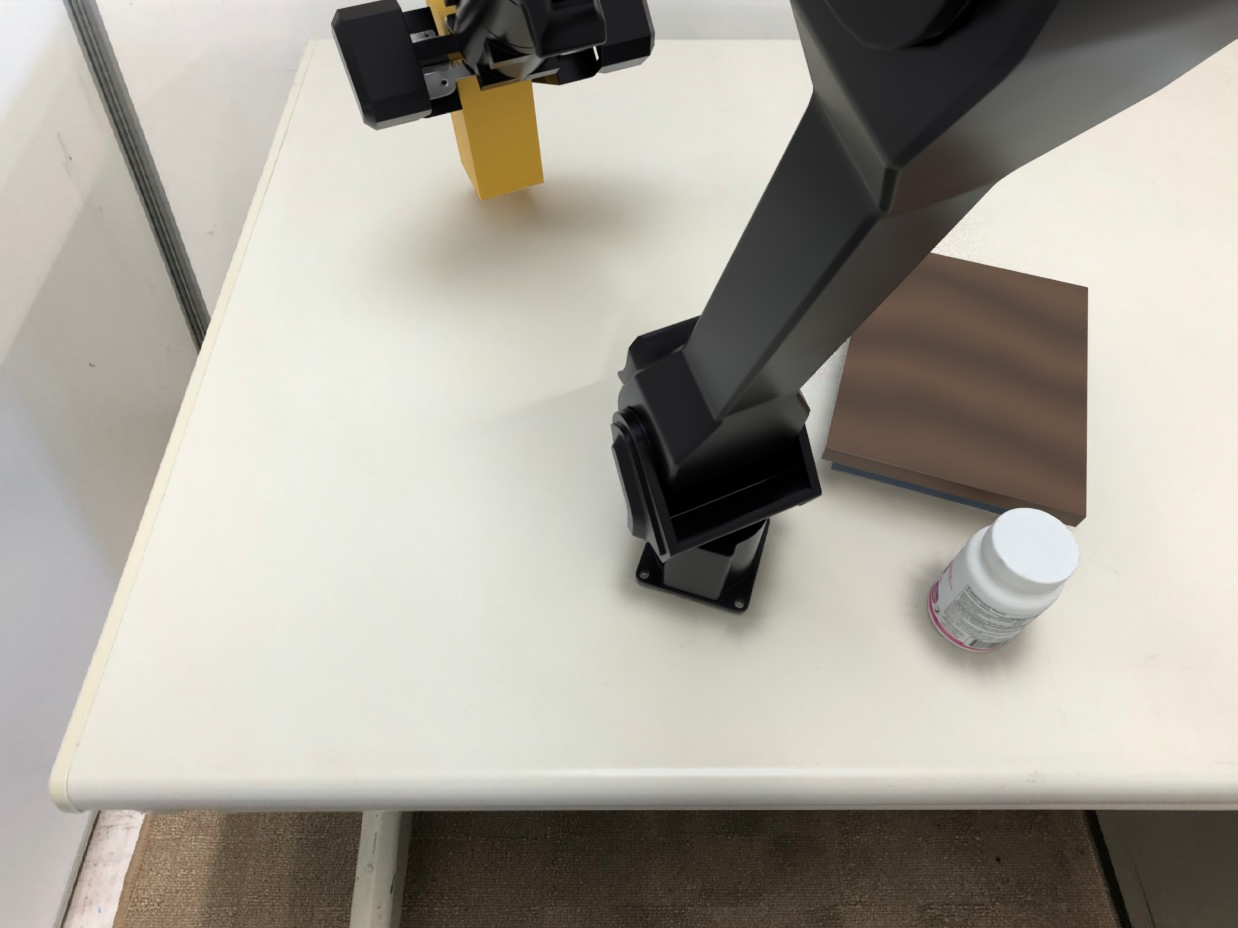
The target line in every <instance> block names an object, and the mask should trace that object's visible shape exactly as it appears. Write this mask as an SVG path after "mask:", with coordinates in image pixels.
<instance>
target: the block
mask: <svg viewBox="0 0 1238 928" xmlns="http://www.w3.org/2000/svg"><path fill="white" fill-rule="evenodd" d="M425 5H426V7H429V6H430V8H431V11H432V14H433V17H434V20H435V23H436V26H437V30H438V33H439V35H442V36H444V35H449V34H450V33H449V31H448V29H447V26H446V23H445V18H446V16H447V15H448V14H453V13H456V11H455V8H454V6H449V7H446V6H445V4H444V1H443V0H425ZM453 33H454V29H453ZM461 60H462V59H459V60H455V61H457V62H458V63H459V64H460V65H461ZM463 60H464V59H463ZM455 61H451V64H452V65H453V66H454V67H455ZM464 61H465V60H464ZM465 62H466V61H465ZM466 64H467V63H466ZM456 88H457V91H458V95H459V98H460V101H461V104H462V107H463V110H459V111H455V112H451V113H450V118H451V122H452V126H453V131H454V136H455V140H456V145H457V150H458V153H459V154H458V155H459V158H460V162H461V165H462V167H463V169H464V170H465V172H466V174H467V177H468V178H469V180H470V182H471V184H472V185H473V188H474V190H475V192H476V194H477V196H478V198H479V199H480V201H481V202H483V201H486V200H489V199H492V198H496V197H499V196H503V195H507V194H510V193H513V192H516V191H520V190H523V189H526V188H527V189H528V188H530V187H533V186H537V185H540V184H544V183H545V180H544V179H545V178H544V172H543V164H542V155H541V147H540V146H541V145H540V140H539V139H540V138H539V130H538V129H539V128H538V122H537V113H536V105H535V97H534V96H535V95H534V88H533V83H532V79H530V80H526V81H522V82H517V83H513V84H509V85H505V86H501V87H497V88H493V89H489V90H485V91H481V90H480V87H479V84H478V81H477V78H476V77H472V78H467V79H463V80H459V81H457V82H456Z"/></svg>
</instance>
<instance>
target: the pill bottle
mask: <svg viewBox="0 0 1238 928" xmlns="http://www.w3.org/2000/svg"><path fill="white" fill-rule="evenodd" d="M1079 563H1080V547H1079V544H1078V542H1077V540H1076V537H1075V536H1074V535H1073V533H1072V531H1071V530H1070V529H1069V528H1068V527H1067V525H1065V524H1063V523H1062V522H1061V521H1059V520H1058V519H1057V518H1055V517H1053V516H1051V515H1050V514H1048V513H1046V512H1043V511H1041V510H1037V509H1032V508H1017V509H1012V510H1009V511H1007V512H1005V513H1003V514H1002V515H1001V514H999V516H998V517H997V518H996V519H995V521H993V523H991V524H989V525H986V526H984V527H982V528H981V529H978V530H977V531H976V532H975V533H974V534H973V535H972V536H971V537H970V538H969V539H968V540H967V541H966V543H965V544H964V545H963V547H961V549H960V550H959V551H958V553H957V554H956V555H955V557H954V558H953V559H952V560H951V562H950V563H949V564H948V565H947V567H946V568H945V569H944V570H943V571H942V573H941V574H940V576H938V577H937V579H936V580H935V581H934V582H933V584H932V586H931V588H930V590H929V593H928V596H927V611H928V614H929V617H930V620H931V622H932V623H933V624H932V625H934V627H935V628H936V630H937V631H938V633H940V634H941V636H943V637H944V638H945V639H946V640H947V641H949V642H950V643H951V644H952V645H954V646H956V647H958V648H960V649H962V650H965V651H968V652H972V653H988V652H993V651H995V650H999V649H1000V648H1002V647H1003V646H1005V645H1006V644H1008V643H1009V642H1010V641H1011V640H1012V639H1013V638H1014V637H1016V636H1018V634H1019V633H1020V632H1021V631H1023V630H1024V629H1025V628H1026V627H1027V626H1029V625H1030V624H1031V623H1032V622H1034V620H1036V619H1037V618H1038V617H1039V616H1041V615H1042V614H1043V613H1044V612H1045V611H1047V610H1048V609H1049V608H1050V607H1051V606H1052V605H1053V604H1054V603H1055V602H1056V601H1057V600H1058V599H1059V598H1060V596H1061V595H1062V592H1063V590H1064V586H1065V582H1066V581H1067V580H1069V578H1070V577H1072V575H1074V574H1075V572H1076V570H1077V568H1078V566H1079Z"/></svg>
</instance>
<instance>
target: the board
mask: <svg viewBox="0 0 1238 928" xmlns="http://www.w3.org/2000/svg"><path fill="white" fill-rule="evenodd" d="M1088 356H1089V287H1088V286H1085V285H1080V284H1076V283H1071V282H1066V281H1062V280H1058V279H1052V278H1049V277H1043V276H1039V275H1036V274H1030V273H1026V272H1021V271H1017V270H1012V269H1007V268H1004V267H1000V266H999V267H998V266H994V265H990V264H985V263H981V262H976V261H972V260H966V259H963V258H958V257H955V256H954V257H953V256H948V255H946V254H940V253H934V252H932V251H931V252H930V253H929V254H928V255H927V256H926V257H925V258H924V259H923V260H922V261H921V263H920V264H919V265H918V266H917V267H916V268H915V269H914V270H913V271H912V272H911V273H910V274H909V275H908V276H907V277H906V278H905V279H904V280H903V281H902V282H901V284H900V285H899V286H898V287H897V288H896V289H895V290H894V291H893V292H892V293H891V294H890V295H889V296H888V297H887V298H886V299H885V300H884V301H883V302H882V303H881V304H880V306H879V307H878V308H877V309H876V310H875V311H874V312H873V313H872V314H871V315H870V316H869V317H868V318H867V319H866V320H865V321H864V322H863V323H862V324H861V325H860V326H859V328H858V329H857V330H856V331H855V332H854V333H853V334H852V335H851V336H850V337H849V338H848V339H847V342H846V346H845V352H844V356H843V360H842V365H841V369H840V373H839V378H838V381H837V386H836V391H835V396H834V400H833V404H832V409H831V413H830V417H829V422H828V425H827V431H826V435H825V439H824V443H823V448H822V451H821V457H820V459H821V460H823V461H826V462H827V461H828V462H830V469H831V470H835V471H837V472H842V473H845V474H850V475H853V476H857V477H861V478H864V479H867V480H871V481H875V482H879V483H882V484H886V485H891V486H894V487H898V488H901V489H905V490H909V491H912V492H916V493H919V494H922V495H927V496H931V497H934V498H937V499H938V498H939V499H941V500H946V501H949V502H953V503H957V504H960V505H964V506H968V507H970V508H971V507H972V508H975V509H979V510H983V511H986V512H991V513H994V514H998V515H1002V514H1003V513H1005V512H1007V511H1009V510H1012V509H1017V508H1032V509H1037V510H1041V511H1043V512H1046V513H1048V514H1050V515H1051V516H1053V517H1055V518H1057V519H1058V520H1059V521H1061V522H1062V523H1063V524H1064V525H1065V526H1068V527H1072V528H1077V527H1078V526H1079V525H1080V524H1081V523H1082V522H1083V521H1084V520H1085V519H1086V518H1087V500H1088V498H1087V497H1088V494H1087V492H1088V491H1087V487H1088V486H1087V485H1088V483H1087V482H1088V480H1087V479H1088V379H1089V377H1088V375H1089V373H1088V372H1089V371H1088V369H1089V366H1088V361H1089V357H1088Z"/></svg>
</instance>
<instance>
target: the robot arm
mask: <svg viewBox="0 0 1238 928" xmlns="http://www.w3.org/2000/svg"><path fill="white" fill-rule="evenodd" d="M443 1H444V4H445V6H446V7H449V6H454V8H455V11H456V13H453V14H448V15H447V16H446V18H445V23H446V26H447V29H448V31H449V33H450V34H449V35H444V36H442V35H439V33H438V30H437V26H436V23H435V20H434V17H433V14H432V11H431V8H430V6H429V7H427V6H425V7H420V8H414V9H410V10H406V11H403V10H402V7H401V5H400V3H399V1H398V0H374V1H370V2H365V3H360V4H355V5H351V6H350V5H349V6H346V7H341V8H337V9H336V10H335V12H334V15H333V17H332V20H331V22H330V27H331V35H332V38H333V40H334V43H335V47H336V49H337V52H338V54H339V57H340V60H341V63H342V66H343V68H344V71H345V74H346V77H347V80H348V82H349V85H350V88H351V91H352V94H353V97H354V101H355V102H356V106H357V108H358V111H359V113H360V117H361V119H362V122H363V124H364V125H366V126H368V127H369V128H371V129H373V130H374V131H376V132H377V131H380V130H385V129H388V128H393V127H397V126H400V125H404V124H405V125H406V124H408V123H412V122H417V121H419V120H422V119H431V118H435V117H439V116H443V115H447V114H451V112H455V111H459V110H463V107H462V104H461V101H460V98H459V95H458V91H457V88H456V82H457V81H459V80H463V79H467V78H472V77H476V78H477V81H478V84H479V87H480V90H481V91H485V90H489V89H493V88H497V87H501V86H505V85H509V84H513V83H517V82H522V81H526V80H530V79H532V84H542V85H550V86H558V87H559V86H564V85H568V84H571V83H575V82H579V81H584V80H588V79H591V78H594V77H596V75H597V74H604V75H605V74H609V73H614V72H618V71H621V70H626V69H629V68H634V67H638V66H642V64H643V63H645V61H646V60H647V59H648V58H650V56H651V54H652V52H653V50H654V47H655V44H656V43H655V42H656V31H655V27H654V23H653V19H652V15H651V11H650V7H649V4H648V0H443ZM789 4H790V8H791V11H792V15H793V19H794V22H795V25H796V29H797V33H798V38H799V41H800V44H801V48H802V51H803V56H804V60H805V63H806V67H807V70H808V73H809V77H810V81H811V84H812V85H811V86H812V93H811V95H810V97H809V98H810V99H809V102H808V104H807V106H806V108H805V110H804V112H803V114H802V116H801V118H800V120H799V122H798V124H797V125H796V128H795V129H794V131H793V134H792V135H791V137H790V140H789V141H788V144H787V146H786V147H785V150H784V151H783V153H782V155H781V157H780V159H779V161H778V163H777V165H776V167H775V169H774V171H773V173H772V174H771V177H770V179H769V181H768V182H767V184H766V186H765V188H764V190H763V193H761V194H762V195H761V196H760V198H759V200H758V202H757V203H756V206H755V208H754V210H753V211H752V214H751V216H750V218H749V220H748V222H747V224H746V226H745V227H744V230H743V231H742V234H741V236H740V238H739V239H738V241H737V244H736V245H735V247H734V249H733V251H732V253H731V255H730V257H729V259H728V261H727V263H726V265H725V267H724V269H723V271H722V273H721V275H720V277H719V279H718V281H717V283H716V285H715V287H714V288H713V291H712V292H711V295H710V297H708V301H707V302H706V304H705V306H704V308H703V310H702V312H701V313H700V314H699V315H696V316H693V317H690V318H688V319H684V320H682V321H679V322H678V321H677V322H675V323H671V324H669V325H666V326H664V327H661V328H657V329H655V330H652V331H649V332H646V333H642V334H639V335H637V336H636V337H635V339H634V340H633V341H632V342H631V344H630V345H629V347H628V348H627V353H626V361H625V364H624V365H625V366H624V367H623V369H621V370H618V371H617V372H616V373H617V377H618V379H619V380H620V382H621V383H622V384H623V385H622V386H621V388H620V390H619V392H618V396H617V411H614V412H613V414H612V418H611V419H612V420H611V421H612V422H611V423H610V430H611V435H612V436H611V438H612V444H611V447H610V448H611V449H610V450H611V453H612V457H613V460H614V464H615V468H616V472H617V475H618V479H619V482H620V486H621V490H622V494H623V498H624V502H625V504H626V505H625V506H626V510H627V522H626V523H627V528H628V530H629V532H630V535H631V537H635V538H638V539H641V540H643V541H645V543H644V547H643V549H642V553H641V556H640V559H639V561H638V563H637V567H636V570H635V575H634V576H635V577H634V578H635V581H636V582H637V584H639V585H640V586H643V587H647V588H650V589H653V590H656V591H659V592H662V593H666V594H670V595H673V596H675V597H679V598H683V599H686V600H689V601H692V602H696V603H699V604H702V605H705V606H709V607H712V608H714V609H718V610H722V611H725V612H728V613H731V614H735V615H744V614H745V613H747V610H748V609H749V606H750V602H751V598H752V594H753V590H754V586H755V583H756V578H757V574H758V571H759V567H760V563H761V559H762V555H763V552H764V547H765V543H766V540H767V535H768V532H769V527H770V524H771V519H770V518H771V517H773V516H776V515H778V514H781V513H783V512H786V511H788V510H791V509H793V508H796V507H801V506H804V505H807V504H809V503H811V502H812V501H814V500H816V499H818V498H820V497H822V496H823V490H822V486H821V481H820V477H819V473H818V468H817V465H816V462H815V457H814V452H813V449H812V445H811V440H810V437H809V433H808V429H807V424H806V422H807V420H808V418H809V417H810V414H811V408H810V406H809V403H808V402H807V400H806V398H805V396H804V394H803V392H802V390H801V389H802V388H803V386H804V385H806V383H807V382H808V381H809V380H811V378H812V377H813V376H814V375H815V374H816V373H817V372H818V371H819V370H820V369H821V368H822V366H824V364H826V362H827V361H829V359H830V358H831V357H832V356H833V355H834V354H835V353H837V351H838V350H839V349H840V348H841V346H843V345H844V343H846V341H848V338H849V337H850V336H851V335H852V334H853V333H854V332H855V331H856V330H857V329H858V328H859V326H860V325H861V324H862V323H863V322H864V321H865V320H866V319H867V318H868V317H869V316H870V315H871V314H872V313H873V312H874V311H875V310H876V309H877V308H878V307H879V306H880V304H881V303H882V302H883V301H884V300H885V299H886V298H887V297H888V296H889V295H890V294H891V293H892V292H893V291H894V290H895V289H896V288H897V287H898V286H899V285H900V284H901V282H902V281H903V280H904V279H905V278H906V277H907V276H908V275H909V274H910V273H911V272H912V271H913V270H914V269H915V268H916V267H917V266H918V265H919V264H920V263H921V261H922V260H923V259H924V258H925V257H926V256H927V255H928V254H929V253H930V252H931V253H932V251H933V250H934V249H935V248H936V247H937V246H938V245H939V244H940V243H941V242H942V241H943V240H944V239H945V238H946V237H947V236H948V234H950V232H951V231H953V230H954V228H955V227H956V226H957V225H958V224H959V223H960V222H961V221H962V220H963V219H964V217H965V216H967V215H968V213H970V211H972V209H973V208H975V206H976V205H977V204H978V203H979V202H980V201H981V200H982V199H983V198H984V197H985V195H987V194H988V193H989V191H990V190H992V188H993V187H994V186H995V185H997V184H998V183H999V182H1000V181H1002V180H1003V179H1004V178H1006V177H1007V176H1009V175H1010V174H1012V173H1014V172H1016V171H1017V170H1018V169H1020V168H1022V167H1024V166H1025V165H1028V164H1029V163H1031V162H1033V161H1034V160H1036V159H1038V158H1040V157H1042V156H1044V155H1045V154H1048V153H1049V152H1051V151H1053V150H1055V149H1056V148H1058V147H1060V146H1062V145H1063V144H1065V143H1068V142H1069V141H1071V140H1073V139H1075V138H1077V137H1078V136H1080V135H1082V134H1084V133H1086V132H1087V131H1089V130H1091V129H1093V128H1094V127H1097V126H1098V125H1100V124H1102V123H1104V122H1105V121H1107V120H1109V119H1111V118H1113V117H1115V116H1116V115H1118V114H1120V113H1122V112H1124V111H1126V110H1127V109H1129V108H1131V107H1133V106H1134V105H1136V104H1138V103H1140V102H1141V101H1144V100H1145V99H1148V98H1149V97H1151V96H1153V95H1155V94H1156V93H1158V92H1160V91H1161V90H1162V89H1164V88H1166V87H1167V86H1169V85H1171V84H1172V83H1173V82H1175V81H1176V80H1178V79H1180V78H1181V77H1182V76H1184V75H1185V74H1187V73H1188V72H1190V71H1191V70H1193V69H1194V68H1196V67H1198V66H1199V65H1200V64H1202V63H1203V62H1205V61H1206V60H1208V59H1209V58H1211V57H1212V56H1214V55H1215V54H1217V53H1218V52H1220V51H1221V50H1223V49H1224V48H1226V47H1227V46H1228V45H1230V44H1232V43H1234V42H1235V41H1236V40H1238V0H789ZM453 29H454V33H453ZM594 47H595V49H594ZM595 50H596V51H595ZM596 54H597V55H596ZM597 57H598V58H597ZM459 59H462V60H461V65H460V64H459V63H458V62H457V61H455V60H459ZM463 59H464V60H465V61H466V62H465V61H464V60H463ZM451 61H455V67H454V66H453V65H452V64H451ZM466 63H467V64H466ZM642 574H646V575H647V577H642V576H641V575H642ZM736 603H741V604H742V606H741V607H738V606H737V605H736Z"/></svg>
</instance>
